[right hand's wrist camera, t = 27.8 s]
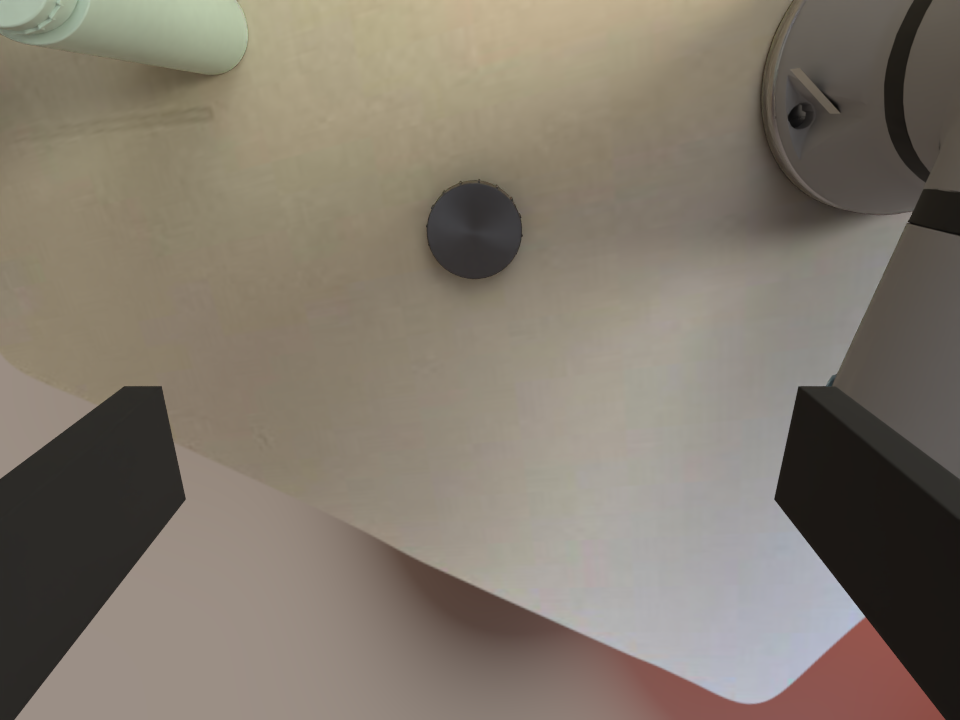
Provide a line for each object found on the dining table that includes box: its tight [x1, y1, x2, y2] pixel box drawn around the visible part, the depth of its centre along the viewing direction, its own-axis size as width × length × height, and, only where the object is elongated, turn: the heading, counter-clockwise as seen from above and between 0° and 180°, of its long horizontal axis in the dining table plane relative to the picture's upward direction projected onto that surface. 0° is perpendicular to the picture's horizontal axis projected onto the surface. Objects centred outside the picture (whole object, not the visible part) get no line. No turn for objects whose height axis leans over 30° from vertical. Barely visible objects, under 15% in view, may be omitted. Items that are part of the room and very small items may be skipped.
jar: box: [0, 0, 248, 75], centre depth 26 cm, size 5×5×16 cm
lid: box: [426, 179, 523, 279], centre depth 37 cm, size 6×6×2 cm
